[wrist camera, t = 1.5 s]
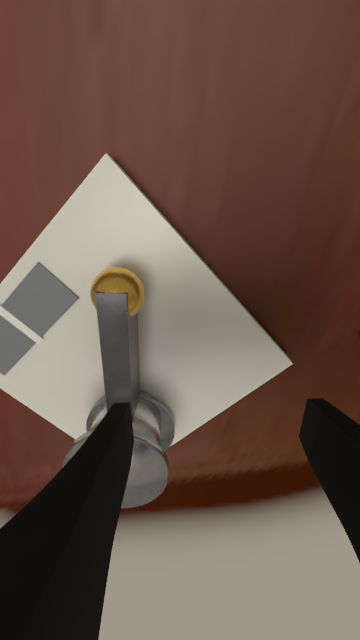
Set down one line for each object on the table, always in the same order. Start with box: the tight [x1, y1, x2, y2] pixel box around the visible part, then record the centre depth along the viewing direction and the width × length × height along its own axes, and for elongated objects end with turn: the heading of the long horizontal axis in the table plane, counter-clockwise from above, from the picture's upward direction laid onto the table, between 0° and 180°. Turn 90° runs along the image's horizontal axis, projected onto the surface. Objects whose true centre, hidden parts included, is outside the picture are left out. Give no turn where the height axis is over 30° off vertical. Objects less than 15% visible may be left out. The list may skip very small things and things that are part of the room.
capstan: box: [63, 267, 175, 508], centre depth 16 cm, size 17×7×5 cm, turn 178°
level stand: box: [0, 153, 293, 446], centre depth 19 cm, size 18×18×2 cm
